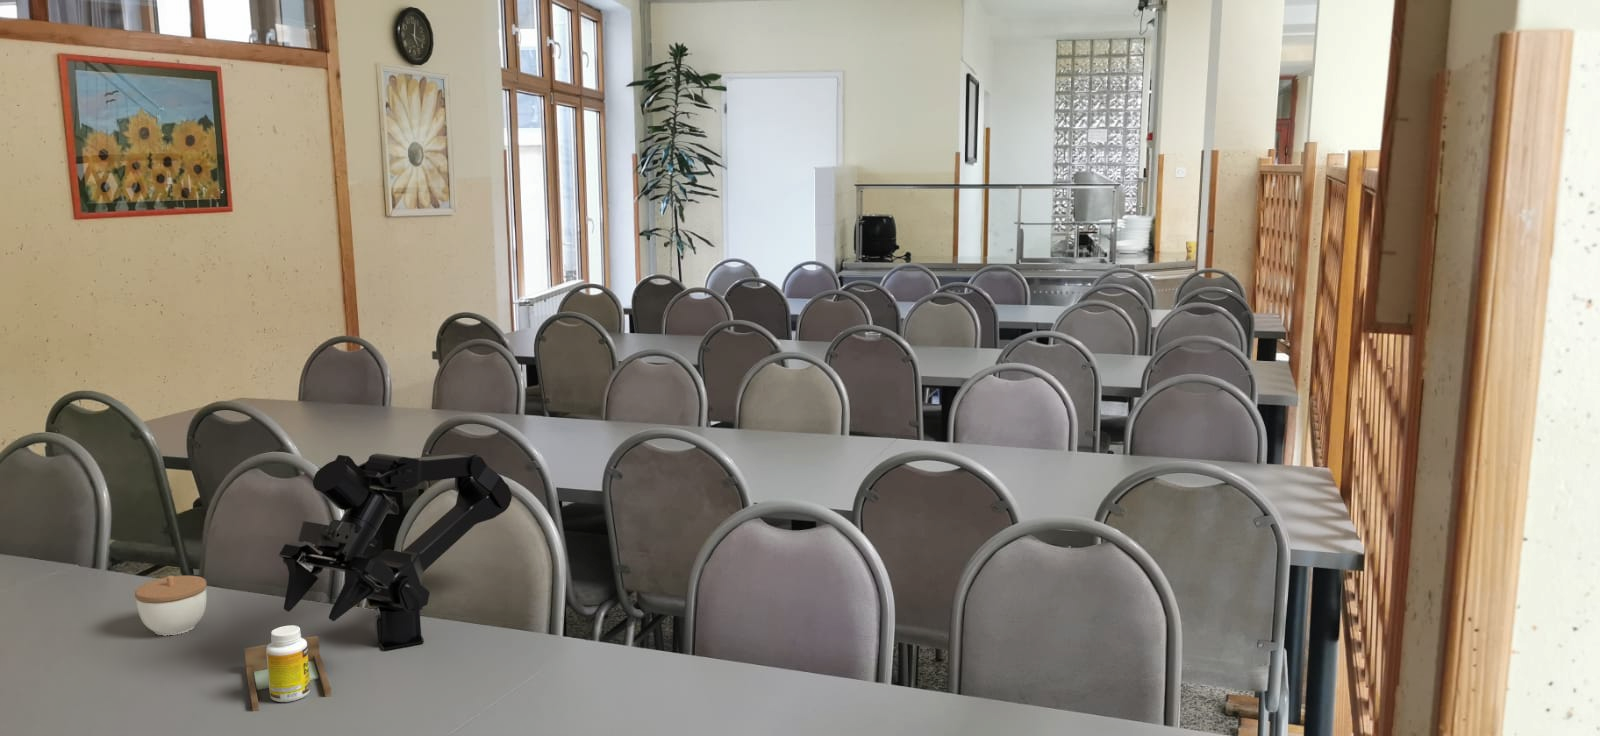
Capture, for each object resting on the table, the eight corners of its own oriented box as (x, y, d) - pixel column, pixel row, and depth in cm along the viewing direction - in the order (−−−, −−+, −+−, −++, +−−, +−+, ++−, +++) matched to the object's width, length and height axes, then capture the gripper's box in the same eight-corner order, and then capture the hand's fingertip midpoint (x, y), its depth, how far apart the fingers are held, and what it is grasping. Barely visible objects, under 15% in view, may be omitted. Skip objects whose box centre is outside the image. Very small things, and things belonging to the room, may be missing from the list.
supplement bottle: (312, 699, 172) (307, 633, 170) (270, 706, 169) (265, 640, 168) (309, 684, 177) (304, 620, 175) (269, 691, 174) (264, 626, 173)
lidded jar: (222, 625, 200) (218, 573, 199) (161, 646, 191) (155, 592, 190) (187, 613, 206) (183, 562, 204) (126, 633, 197) (120, 580, 195)
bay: (319, 659, 186) (317, 635, 185) (331, 695, 173) (329, 670, 172) (246, 672, 181) (244, 648, 180) (252, 711, 168) (250, 685, 167)
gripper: (284, 492, 181) (229, 582, 173) (375, 505, 173) (321, 600, 165) (327, 527, 189) (276, 614, 181) (415, 541, 182) (366, 633, 174)
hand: (308, 615), depth 175 cm, fingers open, 9 cm apart
